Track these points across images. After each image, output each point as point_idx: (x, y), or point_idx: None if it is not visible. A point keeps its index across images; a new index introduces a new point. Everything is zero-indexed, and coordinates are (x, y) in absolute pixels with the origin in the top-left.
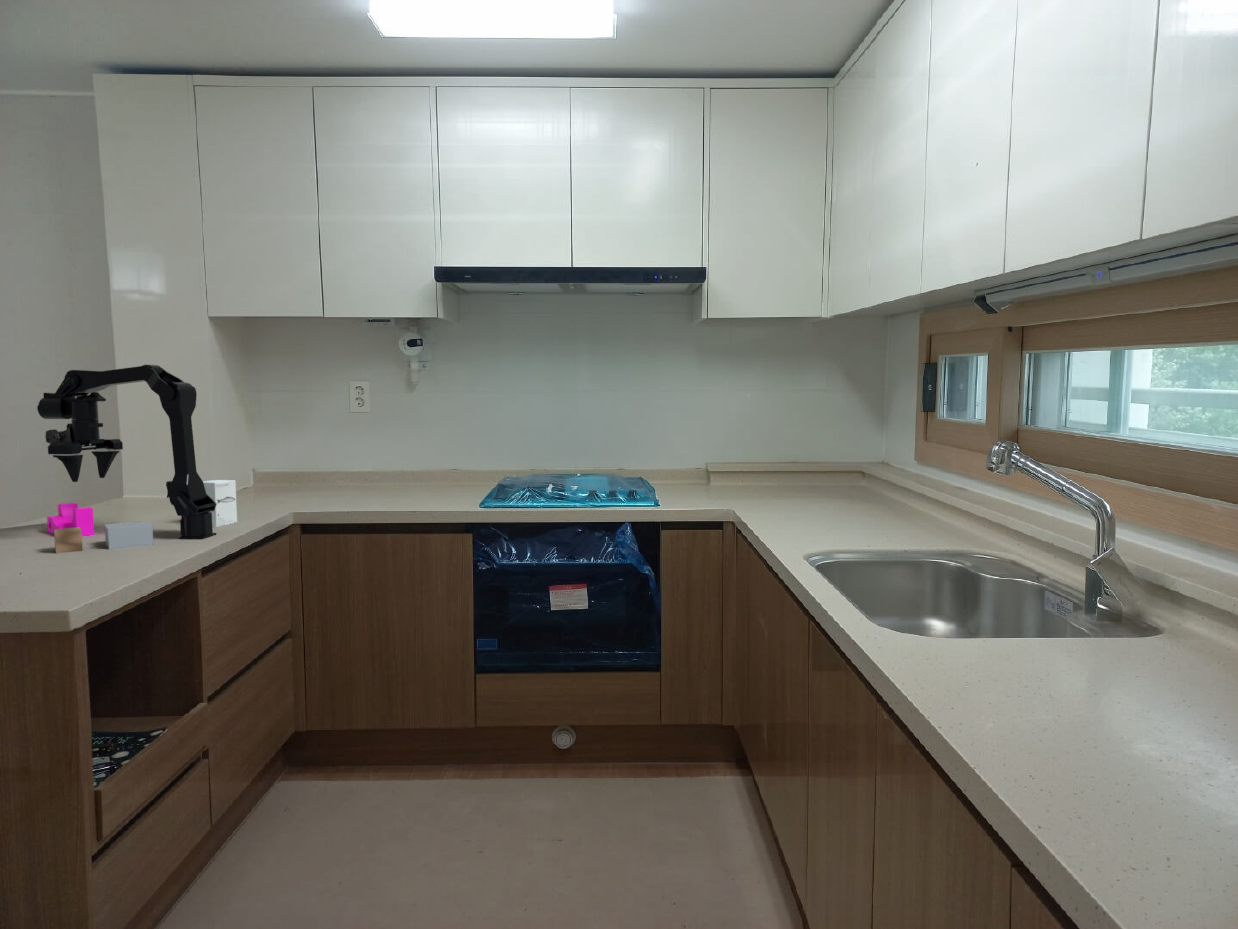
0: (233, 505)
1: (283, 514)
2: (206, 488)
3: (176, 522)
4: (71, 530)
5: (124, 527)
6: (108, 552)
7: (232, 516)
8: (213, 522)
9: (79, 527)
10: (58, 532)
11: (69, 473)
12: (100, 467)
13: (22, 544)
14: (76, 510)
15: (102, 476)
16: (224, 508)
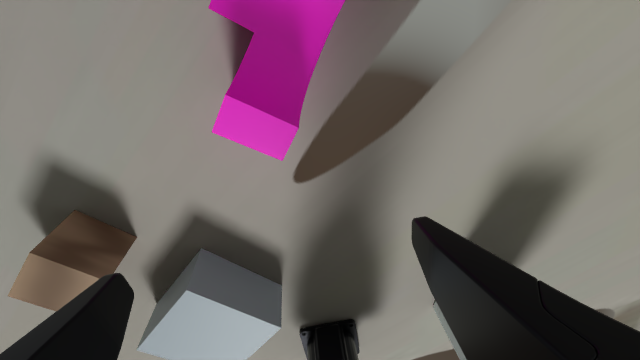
0: None
1: (619, 301)
2: None
3: (536, 164)
4: (59, 306)
5: (178, 355)
6: (134, 324)
7: None
8: (440, 313)
9: None
10: (19, 297)
11: (26, 347)
12: (463, 298)
13: (46, 9)
14: (216, 132)
15: (415, 246)
16: None
